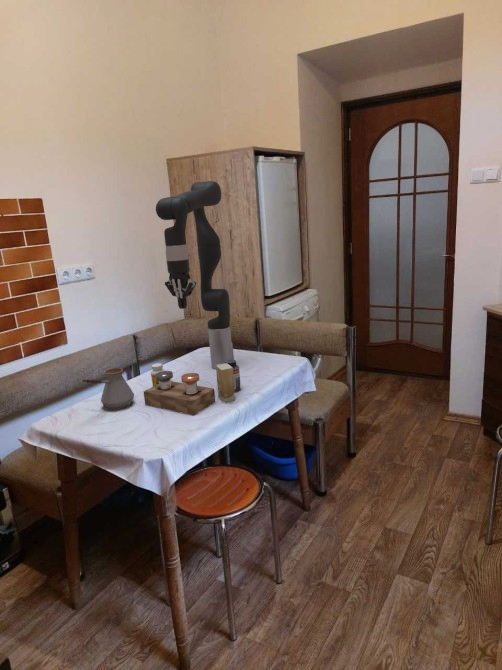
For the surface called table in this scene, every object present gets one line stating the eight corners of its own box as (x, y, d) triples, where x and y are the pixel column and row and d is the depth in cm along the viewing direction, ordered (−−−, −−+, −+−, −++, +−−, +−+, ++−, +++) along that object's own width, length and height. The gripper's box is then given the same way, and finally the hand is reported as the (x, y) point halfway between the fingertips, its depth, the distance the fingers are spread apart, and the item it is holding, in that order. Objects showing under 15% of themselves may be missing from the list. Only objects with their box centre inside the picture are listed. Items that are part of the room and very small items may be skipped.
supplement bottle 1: (163, 385, 185) (160, 361, 183) (169, 388, 181) (166, 364, 179) (150, 388, 183) (147, 364, 180) (156, 392, 178) (153, 368, 176)
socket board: (168, 392, 177) (166, 380, 176) (215, 402, 165) (214, 388, 164) (145, 404, 167) (143, 391, 166) (193, 415, 156) (192, 401, 154)
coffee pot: (115, 397, 176) (109, 359, 172) (141, 400, 172) (136, 360, 168) (75, 422, 157) (67, 379, 153) (103, 425, 153) (96, 381, 149)
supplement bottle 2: (221, 390, 175) (218, 361, 172) (232, 385, 180) (230, 357, 177) (232, 394, 171) (230, 364, 168) (244, 388, 176) (241, 359, 173)
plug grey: (166, 394, 173) (163, 369, 171) (179, 397, 170) (176, 371, 168) (155, 400, 169) (151, 375, 166) (167, 403, 165) (164, 377, 163)
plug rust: (191, 397, 167) (188, 371, 164) (205, 400, 164) (202, 374, 161) (180, 403, 162) (177, 377, 159) (194, 406, 159) (191, 379, 156)
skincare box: (218, 397, 169) (215, 364, 166) (229, 394, 171) (226, 362, 168) (224, 403, 164) (221, 369, 161) (235, 400, 165) (233, 367, 162)
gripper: (199, 257, 161) (204, 307, 166) (170, 257, 169) (175, 305, 173) (185, 259, 155) (190, 311, 160) (155, 260, 163) (161, 309, 167)
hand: (182, 308), depth 166 cm, fingers closed
